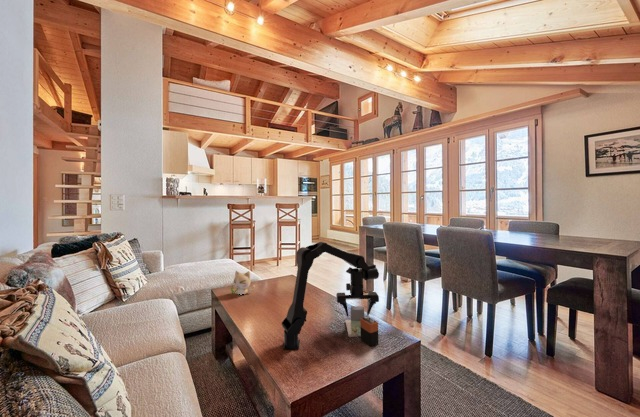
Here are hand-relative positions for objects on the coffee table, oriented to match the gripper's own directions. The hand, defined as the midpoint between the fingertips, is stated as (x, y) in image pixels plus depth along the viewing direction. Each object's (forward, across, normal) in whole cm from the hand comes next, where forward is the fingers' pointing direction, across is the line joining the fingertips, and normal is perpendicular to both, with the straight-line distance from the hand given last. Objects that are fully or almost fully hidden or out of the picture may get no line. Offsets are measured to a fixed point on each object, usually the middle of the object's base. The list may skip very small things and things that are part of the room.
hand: (357, 315), depth 122 cm
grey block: (+2, 0, 0) cm, 2 cm away
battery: (+6, -3, +12) cm, 14 cm away
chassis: (+6, 0, 0) cm, 6 cm away
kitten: (+6, +68, -50) cm, 85 cm away
